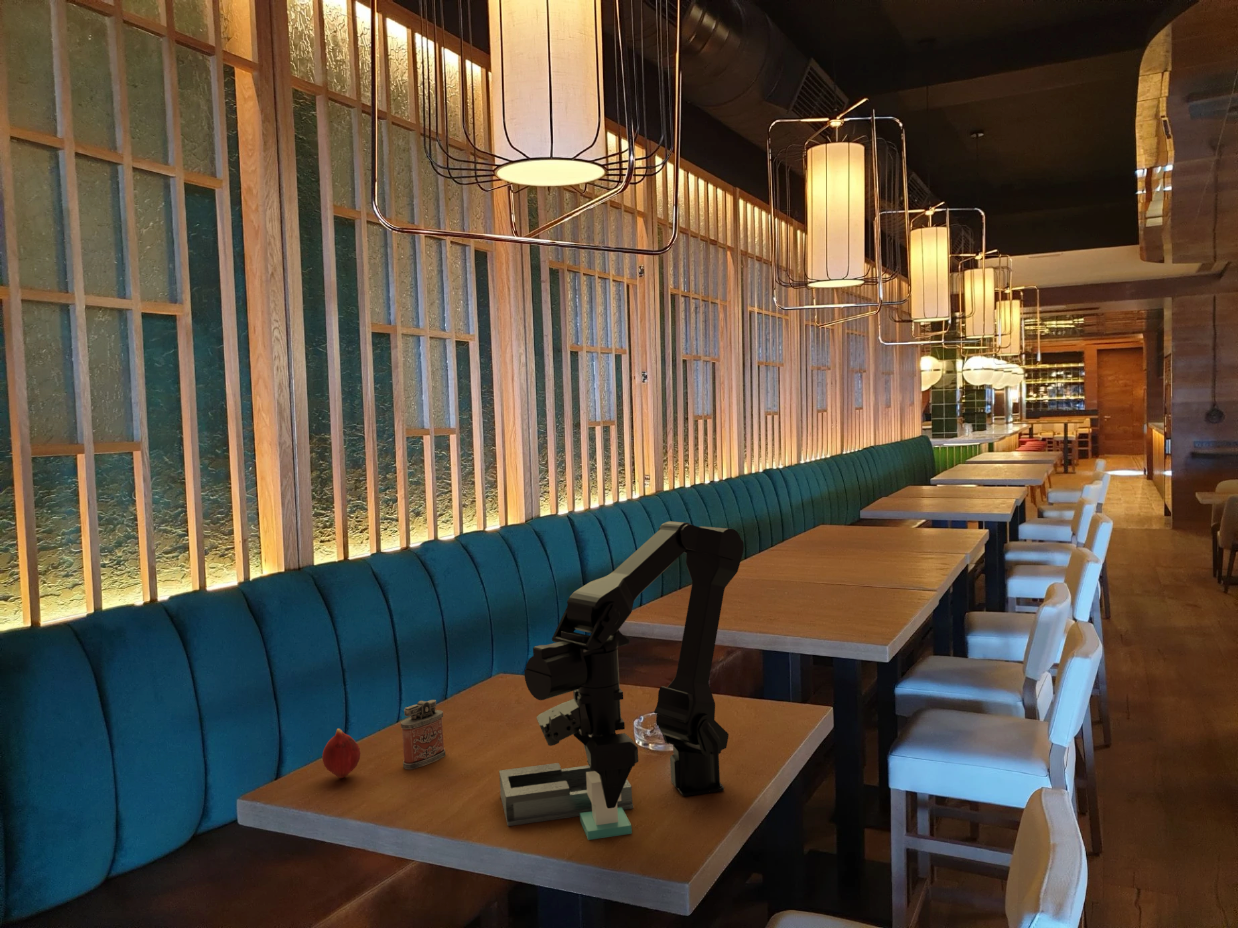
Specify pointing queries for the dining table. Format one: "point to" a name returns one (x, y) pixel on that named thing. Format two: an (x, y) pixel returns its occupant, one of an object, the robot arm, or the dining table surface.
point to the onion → (341, 754)
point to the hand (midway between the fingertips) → (603, 793)
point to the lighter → (422, 735)
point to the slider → (602, 813)
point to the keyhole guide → (548, 793)
